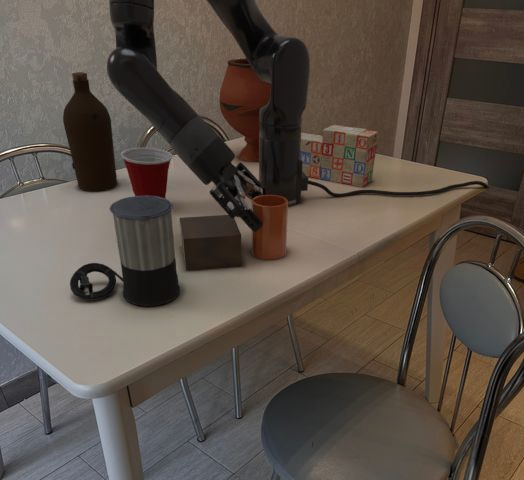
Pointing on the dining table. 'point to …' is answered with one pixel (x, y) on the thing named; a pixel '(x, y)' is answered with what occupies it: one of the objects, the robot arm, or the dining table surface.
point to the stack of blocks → (340, 155)
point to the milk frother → (138, 254)
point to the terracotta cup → (270, 226)
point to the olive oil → (89, 138)
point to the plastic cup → (147, 170)
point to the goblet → (244, 104)
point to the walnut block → (210, 242)
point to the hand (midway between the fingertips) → (265, 220)
